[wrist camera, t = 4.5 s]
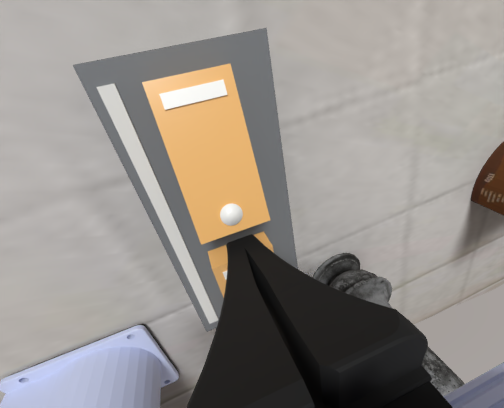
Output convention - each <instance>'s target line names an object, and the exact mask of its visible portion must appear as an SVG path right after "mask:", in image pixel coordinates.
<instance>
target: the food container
mask: <svg viewBox="0 0 504 408" xmlns="http://www.w3.org/2000/svg"><path fill="white" fill-rule="evenodd" d="M471 201H473V202H475V203H477V204H480V205H482V206H484V207H486V208H488V209H491V210H493V211H495V212H497V213H499V214H502V215H504V142H503V143H502V144H500V146H499V147H498V148H497V149H496V150H495V151H494V152H493V154H492V155H491V156H490V157H489V159H488V160H487V162H486V163H485V165H484V166H483V168H482V170H481V171H480V173H479V175H478V177H477V179H476V182H475V184H474V187H473V191H472V195H471Z"/></svg>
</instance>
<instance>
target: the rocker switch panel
mask: <svg viewBox="0 0 504 408" xmlns="http://www.w3.org/2000/svg"><path fill="white" fill-rule="evenodd" d="M225 64H231V68H232V72H233V76H234V79H235V83H236V87H237V91H238V95H239V99H240V103H241V107H242V111H243V115H244V119H245V122H246V126H247V130H248V134H249V138H250V142H251V146H252V150H253V154H254V158H255V162H256V165H257V169H258V173H259V177H260V181H261V185H262V189H263V193H264V197H265V201H266V205H267V208H268V212H269V216H270V221H267V222H264V223H261V224H258V225H256V226H253V227H250V228H247V229H244V230H241V231H239V232H236V233H233V234H230V235H227V236H224V237H222V238H219V239H216V240H213V241H210V242H207V243H205V244H202V245H201V243H200V240H199V237H198V235H197V232H196V229H195V226H194V224H193V221H192V218H191V215H190V213H189V210H188V207H187V205H186V202H185V199H184V196H183V194H182V191H181V188H180V185H179V183H178V180H177V177H176V174H175V172H174V169H173V166H172V163H171V161H170V158H169V155H168V152H167V150H166V147H165V144H164V142H163V139H162V136H161V133H160V131H159V128H158V125H157V122H156V120H155V117H154V114H153V111H152V109H151V106H150V103H149V100H148V98H147V95H146V92H145V90H144V87H143V84H142V82H146V81H151V80H155V79H160V78H164V77H169V76H174V75H178V74H183V73H188V72H192V71H197V70H202V69H206V68H211V67H216V66H220V65H225ZM73 67H74V69H75V71H76V73H77V75H78V77H79V79H80V81H81V83H82V85H83V87H84V89H85V91H86V93H87V95H88V97H89V99H90V100H91V102H92V104H93V106H94V108H95V110H96V112H97V114H98V116H99V118H100V120H101V122H102V124H103V126H104V128H105V130H106V132H107V134H108V136H109V138H110V140H111V142H112V144H113V146H114V148H115V150H116V152H117V154H118V156H119V158H120V160H121V162H122V164H123V166H124V168H125V170H126V172H127V174H128V176H129V178H130V180H131V182H132V184H133V186H134V188H135V190H136V192H137V194H138V196H139V198H140V200H141V202H142V204H143V206H144V208H145V210H146V212H147V214H148V216H149V218H150V220H151V222H152V224H153V226H154V228H155V230H156V232H157V234H158V236H159V238H160V240H161V242H162V244H163V246H164V248H165V250H166V252H167V254H168V256H169V258H170V260H171V262H172V264H173V266H174V268H175V270H176V272H177V274H178V275H179V277H180V279H181V281H182V283H183V285H184V287H185V289H186V291H187V293H188V295H189V297H190V299H191V301H192V303H193V305H194V307H195V309H196V311H197V313H198V315H199V317H200V319H201V321H202V323H203V325H204V327H205V329H206V331H210V330H212V329H214V328H217V325H218V321H219V318H220V314H221V309H222V305H223V300H224V298H223V295H222V293H221V290H220V288H219V285H218V283H217V280H216V278H215V276H214V273H213V271H212V268H211V263H210V259H209V255H208V251H210V250H213V249H216V248H219V247H221V246H224V245H227V243H228V242H231V241H234V240H237V239H239V238H242V237H245V236H248V235H251V234H252V235H255V234H257V233H260V232H263V231H264V233H265V234H266V236H267V237H268V239H269V241H270V242H271V244H272V246H273V251H274V253H275V254H276V255H277V256H279V257H280V258H281V259H283V260H284V261H286V262H287V263H289V264H290V265H292V266H293V267H295V268H296V269H298V267H297V259H296V252H295V244H294V236H293V228H292V221H291V213H290V205H289V198H288V190H287V182H286V175H285V167H284V159H283V152H282V144H281V136H280V129H279V121H278V113H277V106H276V98H275V90H274V82H273V75H272V67H271V59H270V52H269V44H268V36H267V29H266V28H264V29H258V30H253V31H248V32H243V33H238V34H232V35H227V36H222V37H217V38H211V39H206V40H201V41H196V42H191V43H185V44H180V45H175V46H170V47H164V48H159V49H154V50H149V51H144V52H138V53H133V54H128V55H123V56H117V57H112V58H107V59H102V60H97V61H91V62H86V63H81V64H76V65H73Z"/></svg>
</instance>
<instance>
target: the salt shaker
mask: <svg viewBox="0 0 504 408" xmlns="http://www.w3.org/2000/svg"><path fill="white" fill-rule="evenodd" d="M313 278H314V279H316V280H318V281H320V282H322V283H324V284H326V285H328V286H331V287H333V288H335V289H338V290H340V291H342V292H345V293H347V294H349V295H352V296H355V297H358V298H360V299H363V300H366V301H369V302H373V303H376V304H379V305H382V306H386V307H389V308H392V307H391V306H390V304H389V303H388V301H389V299H390V297H391V292H392V287H391V284H390V282H389V281H388V280H387V279H385V278H382V277H377V276H376V275H375V274H373V273H370V272H368V271H365V270H360V262H359V260H358V258H357V257H356V256H355V255H353V254H350V253H343V254H338V255H336V256H333V257H331V258H330V259H328V260H327V261H325V262H324V263H323V264H322V265H321V266H320V267H319V268H318V269H317V271H316V272H315V274H314V276H313ZM421 333H422V332H421ZM422 334H423V333H422ZM423 335H424V334H423ZM421 365H422V366H423V367H424V369H425V370H426V371H427V372H428V373H429V374H430V375H431V377H432V380H431V381H430V382H431V383H432V384H433V385H434V386H435V388H436V389H437V390H438V391H439V392H440V393H441V394H442V396H445V395H447V394H449V393H450V392H452V391H454V390H456V389H457V388H459V387H461V386H463V385H464V382H463V381H462V380H461V379H460V378H459V377H458V376H457V375H456V374H455V373H454V372H453V371H452V370H451V369H450V368H449V367H448V366H447V365H446V364H445V363H444V362H443V361H442V360H441V359H440V358H439V357H438V356H437V355H436V354H435V353H434V352H433V351H432V350H431V349H430V348H429V347H428V346H427V351H426V353H425V356H424V359H423V361H422V364H421Z"/></svg>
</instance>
